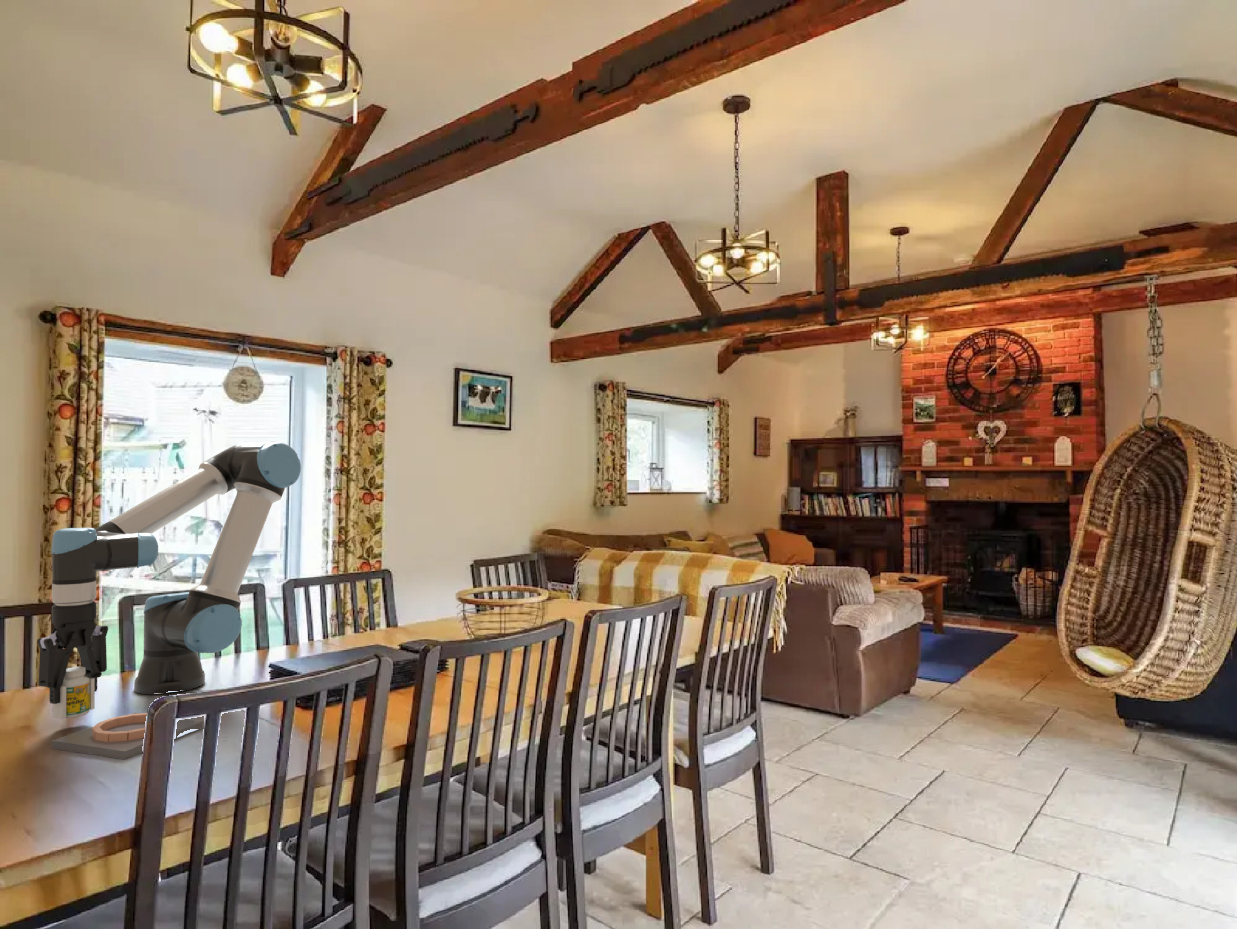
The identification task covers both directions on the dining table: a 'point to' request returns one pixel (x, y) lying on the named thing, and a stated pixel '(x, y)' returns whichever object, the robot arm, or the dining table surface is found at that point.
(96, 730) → the coaster stand
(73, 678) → the supplement bottle
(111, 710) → the dining table surface
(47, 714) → the dining table surface
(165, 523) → the robot arm
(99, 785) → the dining table surface
